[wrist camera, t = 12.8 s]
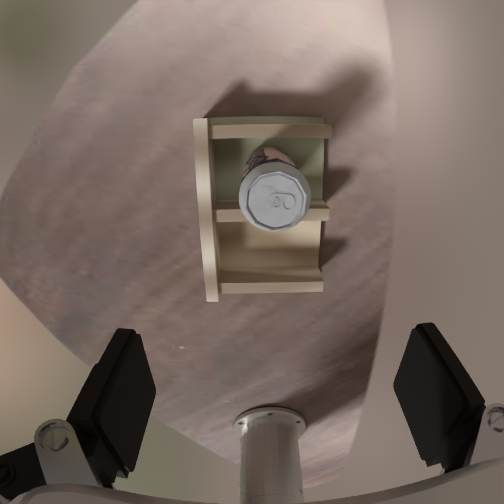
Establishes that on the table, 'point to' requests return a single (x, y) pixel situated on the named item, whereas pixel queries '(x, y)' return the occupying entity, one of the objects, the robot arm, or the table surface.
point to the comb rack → (233, 220)
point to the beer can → (273, 191)
